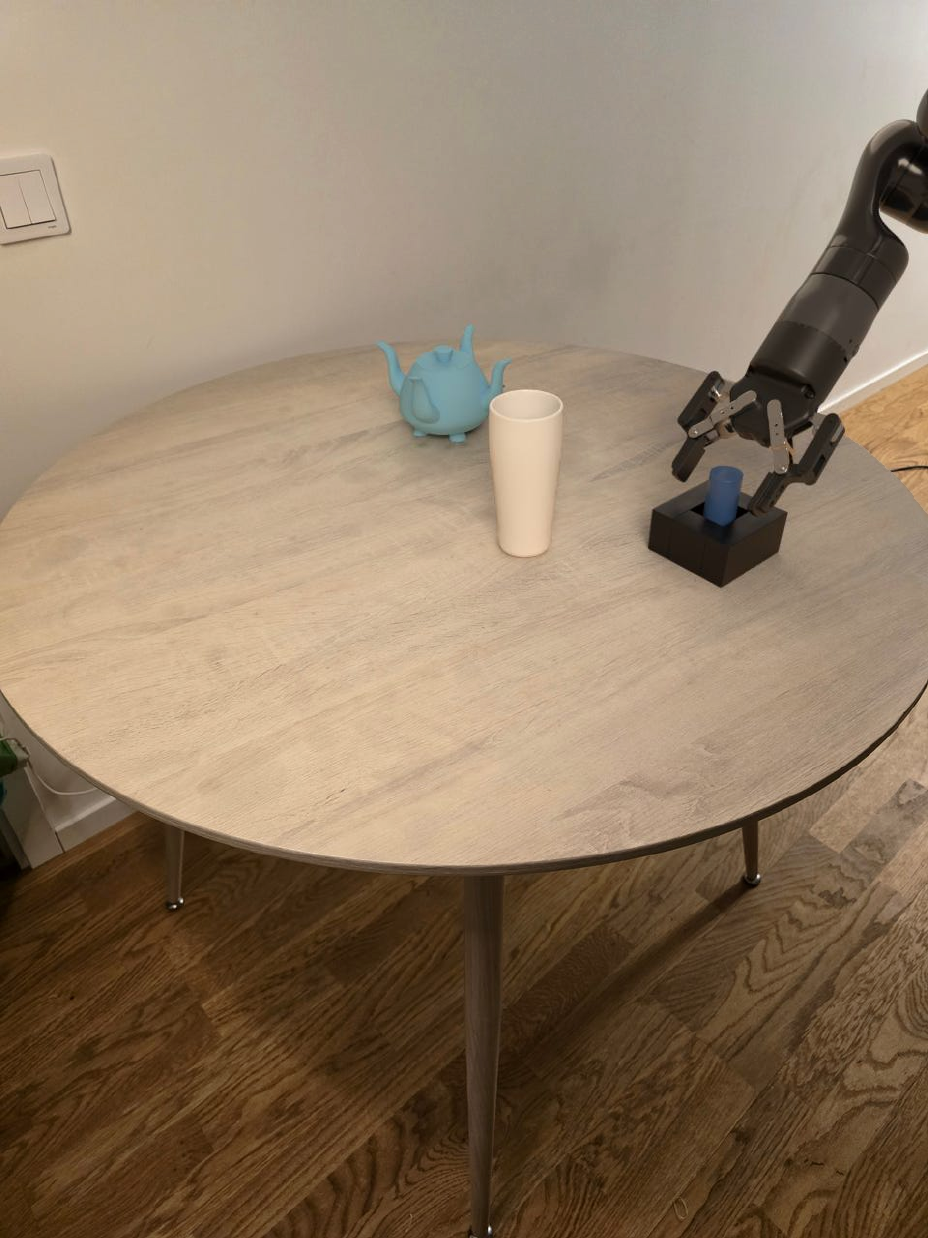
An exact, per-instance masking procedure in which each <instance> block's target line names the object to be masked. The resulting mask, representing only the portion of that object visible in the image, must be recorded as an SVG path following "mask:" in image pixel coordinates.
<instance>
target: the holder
mask: <svg viewBox="0 0 928 1238" xmlns="http://www.w3.org/2000/svg"><path fill="white" fill-rule="evenodd" d="M708 480H709V479H707V480H705V481H703V482H701V483H699V484H698V485H695V486H693V487H691V488H690V489H688V490H686V491H684V492H682V493H680V494H678V495H677V496H674V497H673V498H670V499H669V500H667V501H665V502H662V503H661V504H660V505H658V506H655V507H654V508H652V510H651V517H650V526H649V532H648V533H649V535H648V542H647V549H648V550H650V551H652V552H654V553H656V554H658V555H659V556H661V557H662V558H665V559H667V560H668V561H670V562H671V563H674V564H676V565H677V566H680V567H681V568H683V569H685V570H687V571H689V572H690V573H692V574H694V575H696V576H698V577H700V578H702V579H703V580H705V581H707V582H709V583H711V584H713V585H715V586H716V587H718V588H720V589H722V588H724V587H725V586H727V585H728V584H730V583H732V582H733V581H735V580H736V579H738V578H740V577H741V576H743V575H744V574H746V573H748V572H749V571H751V570H752V569H753V568H755V567H758V565H760V564H762V563H764V562H765V561H767V560H768V559H770V558H771V557H773V556H775V555H776V554H778V553H779V552H780V547H781V544H782V539H783V535H784V531H785V526H786V521H787V517H788V514H789V513H788V511H786V510H784V509H782V508H779V507H778V506H776V505H775V506H774V508H773V509H772V510H771V511H770V512H769V513H768V514H765V513H763V515H762V516H761V517H760V518H758V517H756V516H753V515H751V513H750V512H749V511H748V510H747V505H748V503H749V502H750V500H751V498H752V497H753V495H750V494H748V493H745V492H743V491H741V492H740V497H739V502H738V508H737V513H736V518H735V520H734V521H732V522H731V523H729V524H727V525H725V526H724V527H723V526H721V525H719V524H717V523H715V522H713V521H711V520H709V519H707V518H705V517H703V511H704V505H705V499H706V493H707V486H708Z"/></svg>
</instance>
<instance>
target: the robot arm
mask: <svg viewBox="0 0 928 1238" xmlns="http://www.w3.org/2000/svg"><path fill="white" fill-rule="evenodd" d="M880 213H882V214H883V215H886V216H888V217H889V218H891V219H893V220H894V221H897V222H898V223H900V224H902V225H905V226H906V227H908V228H909V229H911V230H914V231H915V232H918V233H922V234H924V235H928V88H927V89H926V90H925V92H924V94H923V95H922V97H921V99H920V101H919V104H918V106H917V110H916V116H915V120H911V119H908V118H907V119H906V118H905V119H904V118H903V119H898V120H895V121H892V122H890V123H888V124H886V125H884V126H883V127H881V129H880V128H879V130H878V131H877V132H875V134H874V135H873V136H872V137H871V138H870V140H868V143H867V144H866V146H865V148H864V149H863V151H862V154H861V155H860V158H859V160H858V163H857V166H856V169H855V171H854V175H853V178H852V182H851V186H850V188H849V193H848V196H847V199H846V202H845V206H844V208H843V212H842V214H841V217H840V220H839V222H838V224H837V227H836V229H835V230H834V232H833V234H832V236H831V239H830V240H829V241H828V243H827V245H826V247H825V248H824V250H823V252H822V253H821V255H820V256H819V258H818V259H817V261H816V263H815V264H814V265H813V267H812V269H811V271H810V272H809V273H808V275H807V276H806V278H805V279H804V281H803V282H802V283H801V285H800V287H799V288H798V289H797V290H796V291H795V293H793V295H791V297H790V299H789V300H788V302H787V303H786V304H785V306H784V308H783V310H782V311H781V313H780V314H779V316H778V317H777V319H776V320H775V322H774V323H773V325H772V327H771V328H770V330H769V331H768V333H767V335H766V337H765V338H764V339H763V341H762V342H761V344H760V345H759V347H758V349H757V350H756V352H755V353H754V355H753V357H752V359H751V360H750V361H749V364H748V367H747V369H746V372H745V374H744V375H743V377H741V378H740V379H739V380H738V381H736V382H732V381H730V380H728V379H725V378H724V377H722V375H721V374H720V372H719V371H717V370H712V371H710V372H709V373H708V374H707V375H706V377H705V379H704V380H703V381H702V383H701V384H700V386H699V387H698V388H697V390H696V391H695V392H694V394H693V396H692V397H691V399H689V401H688V402H687V404H686V405H685V406H684V408H683V410H682V411H681V413H680V414H679V415H678V417H677V419H676V421H677V424H678V425H679V427H680V428H681V429H682V430H683V431H684V432H685V434H686V439H685V441H684V442H683V444H682V446H681V447H680V448H679V450H678V452H677V454H676V455H675V457H674V459H672V462H671V466H670V467H671V468H672V469H671V475H672V476H673V477H674V479H676V480H677V481H679V482H681V483H686V482H688V480H689V478H690V476H691V475H692V474H693V472H694V470H695V469H696V468H697V466H698V464H699V462H700V461H701V459H702V458H703V456H704V454H705V453H706V449H705V448H707V447H709V446H711V445H713V444H715V443H717V442H718V441H720V440H728V439H730V438H732V437H734V436H736V435H738V436H739V437H740V438H741V439H744V440H746V441H754V442H756V443H757V444H759V445H760V446H762V447H764V448H766V449H769V448H771V450H772V458H773V472H771V471H768V472H767V473H766V475H765V477H764V478H763V480H762V481H761V483H760V485H759V486H758V487H757V489H756V491H755V492H754V493H753V495H752V498H751V500H750V502H749V503H748V505H747V510H748V511H749V512H750V513H751V515H753V516H756V517H758V518H760V517H761V516H762V515H763V513H765V514H768V513H769V512H770V511H771V510H772V509H773V508H774V506H775V507H776V504H777V503H778V501H779V500H780V498H781V497H782V495H783V494H784V492H785V491H786V489H787V488H788V486H790V485H791V484H804V485H805V486H813V485H816V483H817V482H818V480H819V479H820V476H822V473H823V471H824V469H825V468H826V466H827V464H828V463H829V461H830V459H831V457H832V456H833V454H834V452H835V451H836V449H837V447H838V445H839V444H840V441H841V440H842V438H843V436H844V434H845V433H846V427H845V425H844V423H843V421H842V419H841V418H840V416H839V414H838V413H836V412H830V413H828V414H823V413H819V412H818V410H819V408H820V406H821V405H823V404H824V403H825V401H826V400H827V398H828V397H829V395H830V394H831V392H832V390H833V389H834V387H835V386H836V385H837V383H838V381H839V380H840V378H841V377H842V375H843V373H844V372H845V370H846V369H847V367H848V366H849V364H850V362H851V361H852V360H853V358H854V357H856V355H857V354H858V352H859V350H860V348H861V345H862V344H863V342H864V341H865V339H866V337H867V335H868V334H869V331H870V329H871V327H872V325H873V323H874V321H875V319H876V317H877V316H878V314H879V313H880V310H881V309H882V307H883V306H884V305H885V304H886V301H887V300H888V299H889V297H890V295H891V294H892V292H893V291H894V289H895V288H896V286H897V284H898V283H899V282H900V280H901V279H902V277H903V275H904V273H905V272H906V270H907V267H908V265H909V261H910V253H909V251H908V248H907V246H906V244H905V242H903V241H902V239H901V238H900V237H899V236H898V235H897V234H896V233H895V232H894V231H893V230H892V229H891V228H890V227H889V226H888V225H887V224H886V222H884V220H883V218H882V217H881V214H880ZM728 397H729V403H727V404H725V405H724V406H722V407H720V408H718V409H716V410H715V408H716V407H717V405H718V404H719V403H722V404H723V402H725V399H726V398H728ZM728 420H729V421H730V422H727V421H728ZM811 428H812V430H811V434H812V436H813V437H812V439H811V440H810V443H809V444H808V446H807V448H806V449H805V452H804V453H803V455H802V457H801V459H800V460H799V462H798V463H796V462H795V460H796V451H795V450H796V449H795V439H794V437H796V436H798V435H800V434H802V433H803V432H806V431H808V430H809V429H811Z"/></svg>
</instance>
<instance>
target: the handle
mask: <svg viewBox="0 0 928 1238" xmlns="http://www.w3.org/2000/svg"><path fill="white" fill-rule="evenodd" d="M707 480H708V486H707V493H706V499H705V505H704V511H703V517H705V518H707V519H709V520H711V521H713V522H715V523H717V524H719V525H721V526H723V527H724V526H725V525H727V524H729V523H731V522H732V521H734V520H735V518H736V513H737V508H738V502H739V497H740V492H742V487H743V480H744V472H743V471H742V470H741V469H740V468H737V467H735V466H732V465H716V466H714V467H712V468H711V469H710V471H709V475H708V479H707Z"/></svg>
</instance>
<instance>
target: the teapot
mask: <svg viewBox="0 0 928 1238" xmlns="http://www.w3.org/2000/svg"><path fill="white" fill-rule="evenodd" d="M474 330H475V327H474V325H472V324H470V325H467V326H466V327H465V329H464V330H463V332H462V336H461V340H460V344H459V349H454V347H453V346H451V345H446V344H442V345H437V346H435V347H434V348H433V350H430V351H426V352H423V353H422V354H420V355H419V356H418V357H416V359H415V360H414V361H413V363H412V364H411V366H410V368H409V370H408V371H407V374H405V373H404V371H403V370H402V369H401V366H400V362H399V361H400V360H399V357H398V355H397V353H396V351H395V349H394V348H393V347H392V346H390V345H389V344H387V343H385V342H382V341H375V344H376V345H377V347H379V348H380V349H381V350H382V352H383V353H384V355H385V358H386V361H387V369H388V380H389V384H390V387H391V389H392V391H393V392H394V394H395V395H396V396H397V397H398V398H399V399H398V409H399V413H400V415H401V416H402V418H403V419H404V421H406V423H408V424H409V425H410V426H411V427H412V428H414V429H413V431H412V435H413V436H415V437H426V436H428V435H437V436H446V435H447V436H448V440H449V441H450V442H452V443H463V442H465V441H466V440H467V436H466V432H469V431H470V432H471V431H472V430H474V429H476V428H478V427H479V426H481V425H482V423H484V421H486V419H487V418H489V406H490V403H491V401H492V400H493V399H494V398H495V397H497V396H498V395H500V394H503V393H504V372H505V370H506V367H507V366H508V365H509V364H510V363H511V362H513V361H514V358H506V359H502V360H498V361H497V362H496V363H495V364H494V365H493V367H492V368H493V369H492V372H491V379H490V382H489V381H488V379H487V377H486V375H485V373H484V371H483V370H482V368H481V367H480V366H479V364H478V362H476V359H475V354H474V347H473V335H474Z"/></svg>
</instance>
